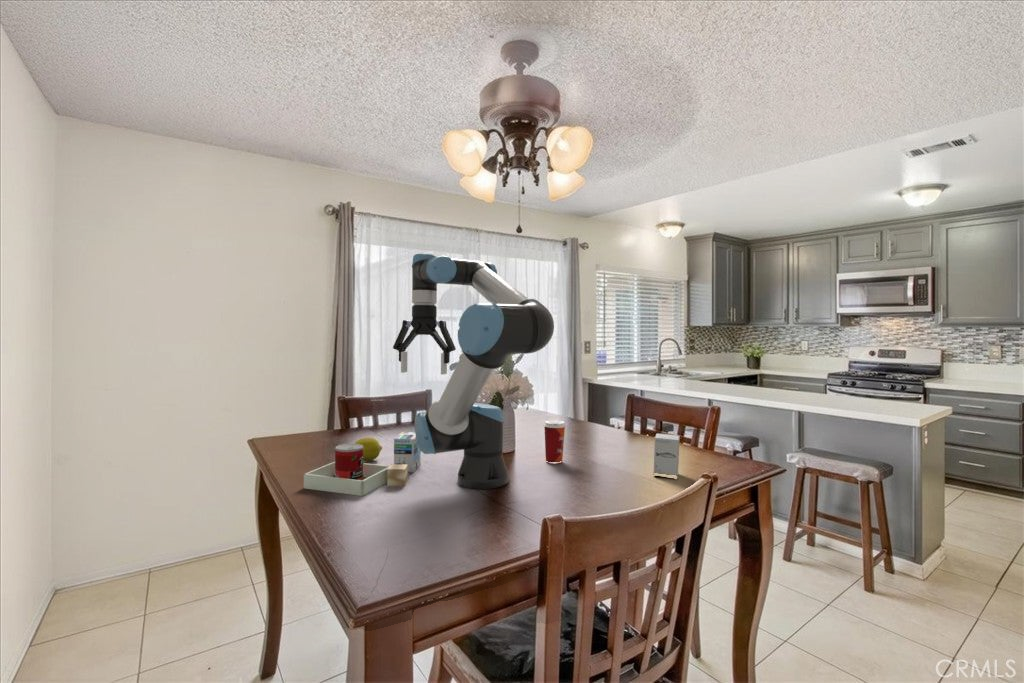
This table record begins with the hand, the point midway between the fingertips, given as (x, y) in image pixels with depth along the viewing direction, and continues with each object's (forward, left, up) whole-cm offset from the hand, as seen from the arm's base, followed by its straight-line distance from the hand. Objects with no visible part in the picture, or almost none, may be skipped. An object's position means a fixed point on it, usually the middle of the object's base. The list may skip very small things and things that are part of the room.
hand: (423, 373), depth 150 cm
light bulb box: (+8, -5, -32) cm, 33 cm away
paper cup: (-36, -28, -32) cm, 56 cm away
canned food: (+16, +15, -32) cm, 39 cm away
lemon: (+25, -7, -32) cm, 41 cm away
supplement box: (-73, -25, -32) cm, 84 cm away
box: (+16, +15, -32) cm, 39 cm away
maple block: (+3, +10, -32) cm, 33 cm away
